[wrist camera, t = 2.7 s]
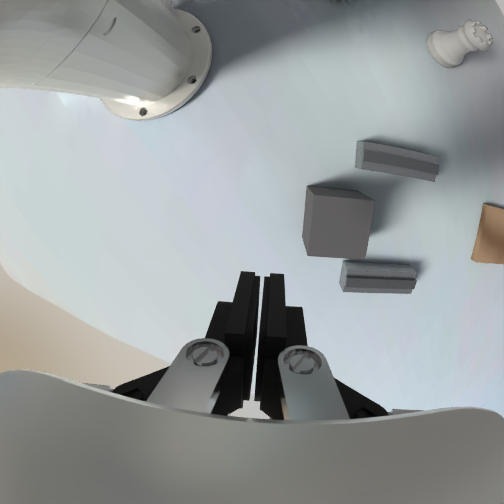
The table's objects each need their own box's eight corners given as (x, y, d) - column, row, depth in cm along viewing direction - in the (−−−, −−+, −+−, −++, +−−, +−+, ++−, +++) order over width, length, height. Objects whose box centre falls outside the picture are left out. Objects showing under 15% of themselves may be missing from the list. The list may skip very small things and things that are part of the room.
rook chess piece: (438, 28, 17) (476, 6, 9) (462, 60, 18) (505, 47, 10) (417, 41, 18) (456, 18, 11) (443, 74, 19) (488, 62, 12)
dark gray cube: (306, 185, 25) (313, 195, 21) (357, 190, 25) (374, 201, 20) (302, 236, 27) (307, 255, 23) (350, 240, 27) (364, 259, 22)
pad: (483, 203, 24) (488, 205, 23) (514, 211, 23) (518, 213, 22) (471, 258, 26) (475, 262, 25) (502, 261, 26) (506, 264, 25)
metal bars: (357, 141, 23) (364, 141, 21) (427, 155, 23) (439, 156, 21) (339, 282, 29) (343, 293, 26) (404, 285, 28) (412, 295, 26)
